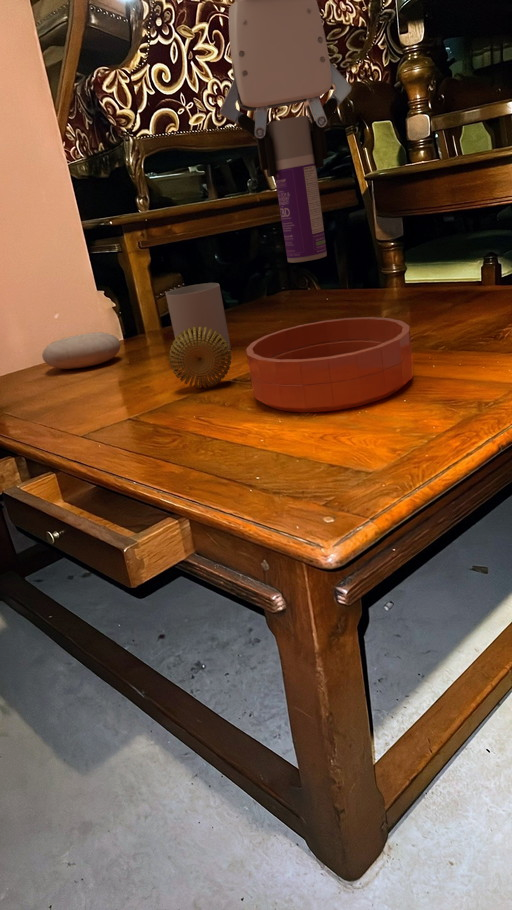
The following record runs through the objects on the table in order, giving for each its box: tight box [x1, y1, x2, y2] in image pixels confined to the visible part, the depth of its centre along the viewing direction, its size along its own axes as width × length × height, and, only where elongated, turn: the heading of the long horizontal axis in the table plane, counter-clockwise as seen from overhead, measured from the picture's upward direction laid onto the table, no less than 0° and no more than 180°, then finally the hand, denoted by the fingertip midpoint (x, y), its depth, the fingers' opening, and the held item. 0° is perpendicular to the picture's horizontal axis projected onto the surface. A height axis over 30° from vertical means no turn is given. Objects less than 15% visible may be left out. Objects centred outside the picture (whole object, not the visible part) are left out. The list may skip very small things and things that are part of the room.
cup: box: [165, 282, 232, 356], centre depth 107 cm, size 8×8×10 cm
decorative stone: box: [41, 332, 121, 370], centre depth 114 cm, size 13×9×5 cm
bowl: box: [245, 316, 414, 413], centre depth 80 cm, size 19×19×6 cm
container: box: [268, 115, 328, 264], centre depth 79 cm, size 5×5×15 cm
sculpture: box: [168, 326, 233, 389], centre depth 89 cm, size 8×4×8 cm, turn 90°
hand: (295, 170), depth 78 cm, fingers closed on container, 4 cm apart
